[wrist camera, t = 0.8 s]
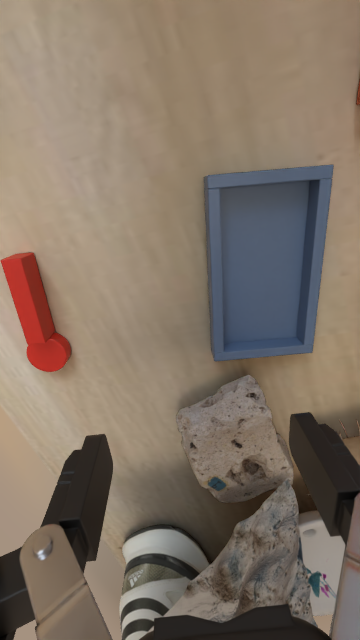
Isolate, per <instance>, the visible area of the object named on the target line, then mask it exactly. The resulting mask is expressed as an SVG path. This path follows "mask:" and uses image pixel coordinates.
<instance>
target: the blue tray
mask: <svg viewBox="0 0 360 640" xmlns="http://www.w3.org/2000/svg"><path fill="white" fill-rule="evenodd" d="M332 175H333V165H322V166H310V167H298V168H287V169H275V170H263V171H252V172H240V173H229V174H217V175H208V176H205V177H204V194H205V218H206V241H207V265H208V289H209V312H210V336H211V351H212V354H213V358H214V361H224V360H235V359H247V358H258V357H269V356H280V355H292V354H303V353H312V351H313V343H314V334H315V326H316V317H317V308H318V299H319V290H320V282H321V273H322V264H323V255H324V247H325V238H326V229H327V220H328V211H329V203H330V194H331V185H332V179H331V178H332Z"/></svg>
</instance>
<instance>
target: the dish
mask: <svg viewBox="0 0 360 640" xmlns="http://www.w3.org/2000/svg"><path fill="white" fill-rule="evenodd" d="M319 515H320V514H319V512H318V510H317V511H309V512H304V513H301V514H299V520H298V524H299V529H300V536H301V543H302V553H303V563H304V565H305V567H306V568H308V569H309V570H311V572H312V573H315V572H317V571H319V572H320V573H321V574H325V575H327V576H326V578H325V581H326V582H327V583H326V582H325V581H324V580H323V575H322V577H321V576H320V581H322V582H323V583H324V584H325V585H327V584H329V586H330V587H331V589H332V590H331V589H330V588H329V587H328V586H327V587H328V588H329V590H330V592H331V593H330V592H329V591H328V592H327V591H326V589H325V587H324V585H323V584H322V583H321V582H320V586H321V587H323V588H324V590H325V591H326V592H327V594H328V595H329V598H328V597H327V596H326V595H325V594H324V593H323V592H322V591H321V587H320V594H319V598H318V597H316V596H315V594H314V592H313V590H312V587H311V592H310V603H311V607H312V613H313V616H322V615H331V614H333V612H334V607H335V601H336V599H335V598H336V596H337V590H338V584H339V578H340V573H341V567H342V561H343V556H344V550H345V543H344V541H343V539H342V537H341V536H334V537H330V535H329V533H328V531H327V529H326V527H325V524H324V522H323V520H322V518H321V516H319ZM318 516H319V517H318ZM327 559H328V560H327ZM326 561H327V562H326ZM319 572H318V573H319ZM309 576H311V574H310V573H309V574H308V577H309ZM316 579H317V578H316ZM332 591H333V592H334V593H335V594H336V596H335V594H334V593H333V592H332ZM332 595H333V596H334V597H335V598H334V597H333V596H332Z"/></svg>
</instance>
